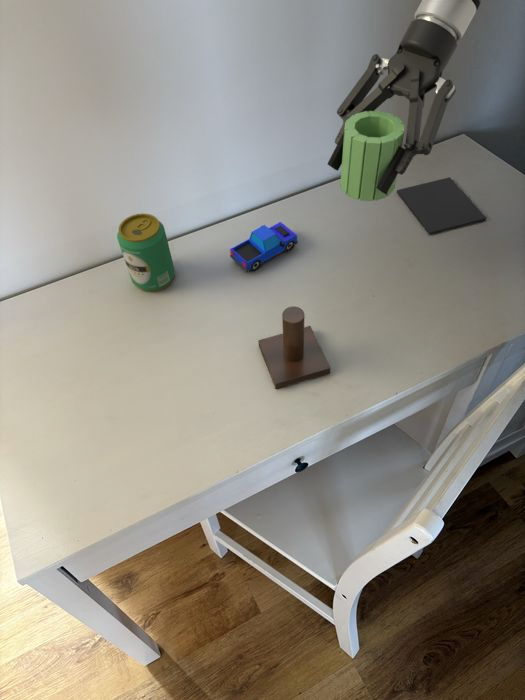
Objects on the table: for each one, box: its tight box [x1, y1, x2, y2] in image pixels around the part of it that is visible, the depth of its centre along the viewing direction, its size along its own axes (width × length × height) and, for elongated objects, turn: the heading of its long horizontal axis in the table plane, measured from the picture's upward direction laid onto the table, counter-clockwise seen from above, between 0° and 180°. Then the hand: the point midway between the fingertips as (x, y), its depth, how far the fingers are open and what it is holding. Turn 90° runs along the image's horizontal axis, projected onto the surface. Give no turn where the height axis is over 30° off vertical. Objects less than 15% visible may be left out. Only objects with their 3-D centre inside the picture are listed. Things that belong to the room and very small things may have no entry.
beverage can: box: [116, 213, 176, 293], centre depth 94 cm, size 8×8×12 cm
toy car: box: [229, 221, 299, 273], centre depth 99 cm, size 7×12×5 cm, turn 127°
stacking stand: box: [257, 305, 332, 390], centre depth 81 cm, size 9×9×11 cm
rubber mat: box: [396, 176, 487, 235], centre depth 106 cm, size 14×12×1 cm
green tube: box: [339, 110, 405, 202], centre depth 82 cm, size 9×9×10 cm
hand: (356, 179), depth 83 cm, fingers closed on green tube, 9 cm apart
